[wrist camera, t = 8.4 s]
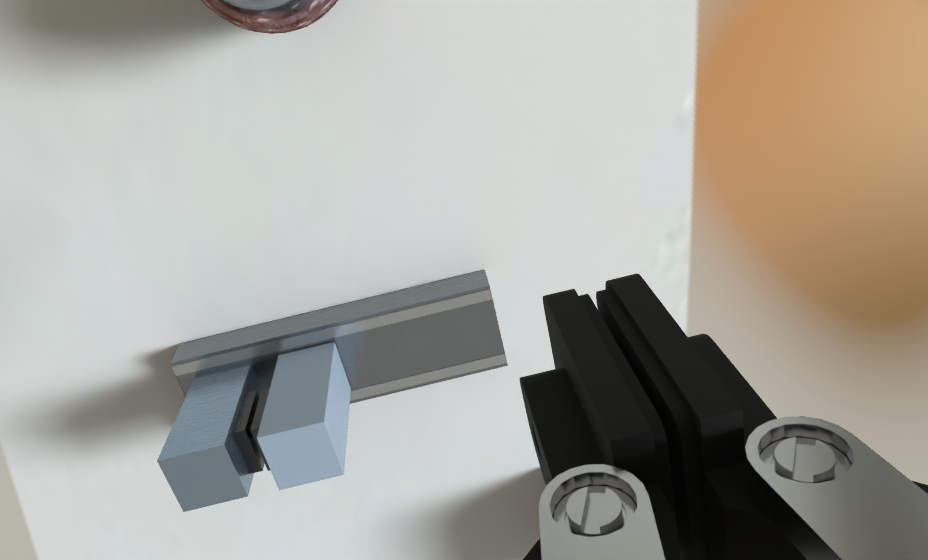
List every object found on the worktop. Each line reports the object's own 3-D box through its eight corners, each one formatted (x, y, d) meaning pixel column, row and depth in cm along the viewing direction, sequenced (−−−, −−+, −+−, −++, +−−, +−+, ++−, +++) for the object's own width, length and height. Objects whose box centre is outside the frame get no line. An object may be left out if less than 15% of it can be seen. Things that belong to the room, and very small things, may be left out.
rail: (179, 343, 39) (125, 448, 31) (484, 269, 39) (510, 355, 31) (213, 417, 41) (170, 533, 33) (502, 347, 41) (531, 445, 33)
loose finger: (267, 357, 37) (243, 441, 31) (334, 341, 37) (323, 421, 31) (286, 404, 39) (266, 493, 32) (350, 388, 39) (343, 474, 32)
